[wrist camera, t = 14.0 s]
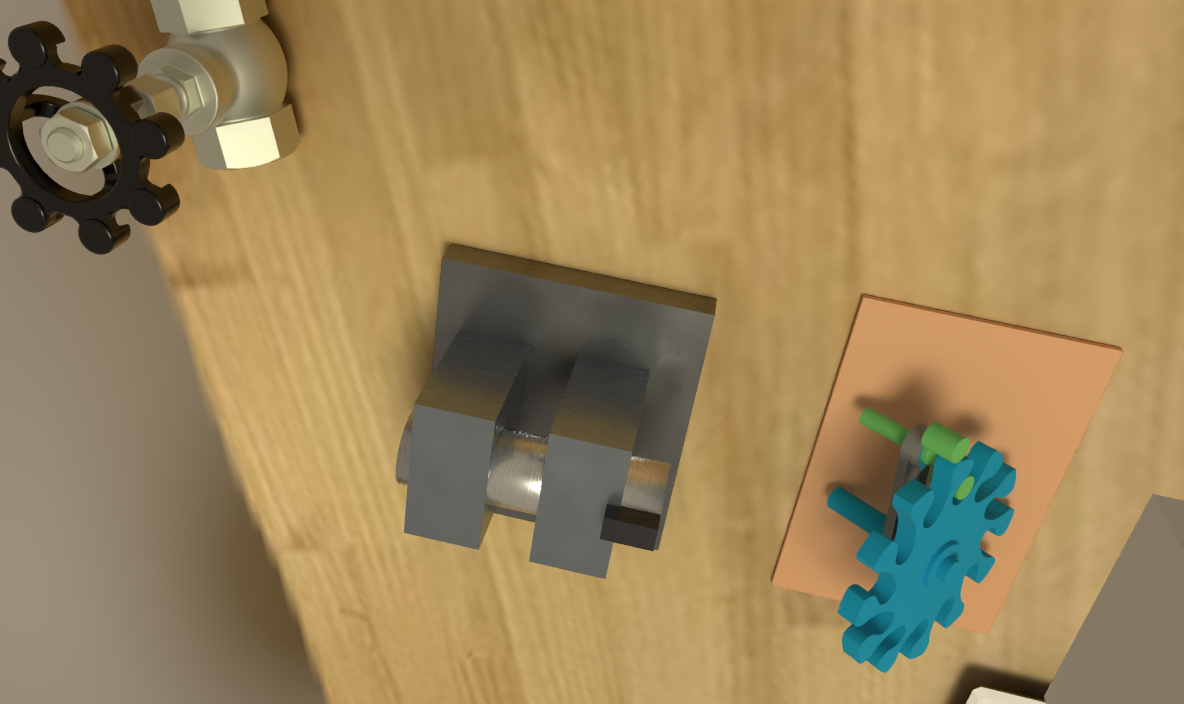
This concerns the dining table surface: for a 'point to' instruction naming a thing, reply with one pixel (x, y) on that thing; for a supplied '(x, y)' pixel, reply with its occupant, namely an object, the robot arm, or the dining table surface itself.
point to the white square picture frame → (1000, 697)
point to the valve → (144, 113)
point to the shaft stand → (552, 407)
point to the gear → (921, 538)
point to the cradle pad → (959, 402)
